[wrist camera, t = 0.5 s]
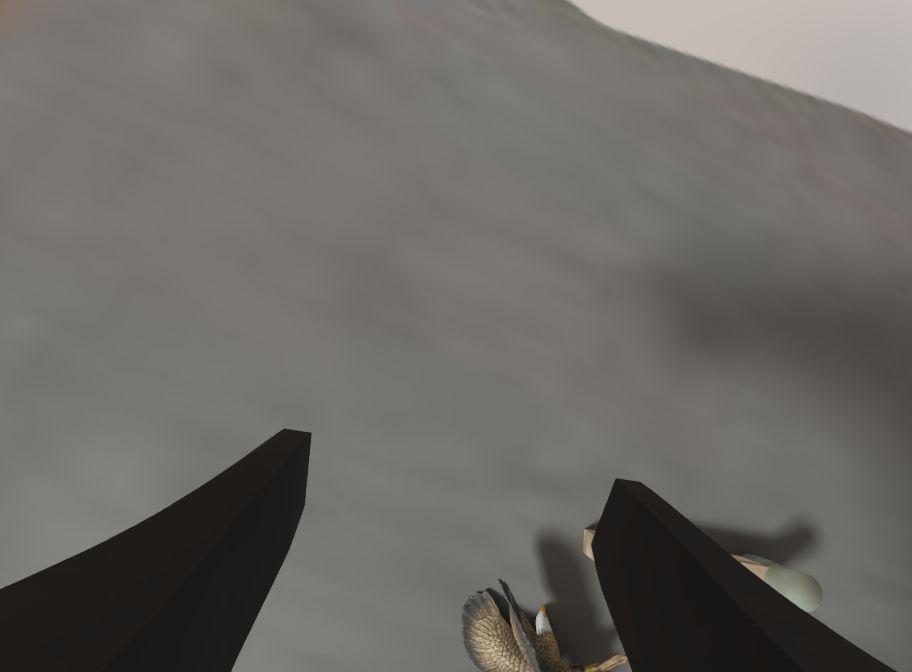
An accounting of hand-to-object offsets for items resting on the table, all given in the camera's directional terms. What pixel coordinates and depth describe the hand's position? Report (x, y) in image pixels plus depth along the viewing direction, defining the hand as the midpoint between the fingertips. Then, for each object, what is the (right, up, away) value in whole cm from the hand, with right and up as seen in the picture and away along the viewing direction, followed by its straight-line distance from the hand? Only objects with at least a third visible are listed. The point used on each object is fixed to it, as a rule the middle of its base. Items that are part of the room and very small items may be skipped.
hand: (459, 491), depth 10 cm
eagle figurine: (+5, -18, +21) cm, 28 cm away
